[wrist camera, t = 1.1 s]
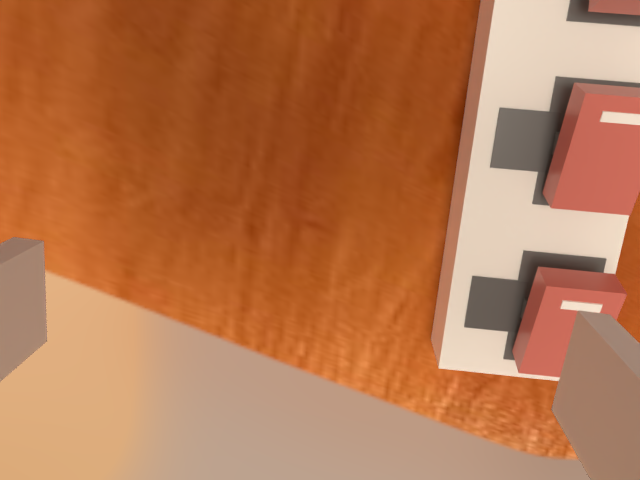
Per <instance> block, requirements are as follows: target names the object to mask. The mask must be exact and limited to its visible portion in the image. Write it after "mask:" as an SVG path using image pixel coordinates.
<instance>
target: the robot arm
mask: <svg viewBox="0 0 640 480" xmlns="http://www.w3.org/2000/svg"><path fill="white" fill-rule="evenodd" d="M45 294H46V293H45V261H44V241H40V240H32V239H24V238H17V237H13V238H11V239H9V240H7V241H5V242H3V243H1V244H0V381H1V380H3V379H4V378H5V377H6V376H7V375H8V374H9V373H11V372H12V371H13V370H14V369H15V368H17V366H19V365H20V364H21V363H22V362H23V361H25V360H26V359H27V358H28V357H29V356H30V355H32V354H33V353H34V352H35V351H36V350H37V349H38V348H40V347H41V346H42V345H43V344H44V343H45V342H46V341H47V329H46V328H47V326H46V295H45ZM551 410H552V412H553V413H554V415H555V417H556V419H557V421H558V422H559V424H560V426H561V428H562V429H563V431H564V433H565V435H566V437H567V438H568V440H569V442H570V444H571V446H572V447H573V449H574V451H575V453H576V455H577V456H578V458H579V460H580V462H581V463H582V465H583V467H584V469H585V471H586V472H587V474H588V476H589V478H590V480H640V344H639V343H638V342H637V341H636V340H635V339H634V338H633V337H632V336H631V335H630V334H629V333H628V332H627V331H626V330H625V329H624V328H623V327H622V326H621V325H620V324H619V323H618V322H617V321H616V320H615V319H614V318H613V317H612V316H611V315H610V314H603V313H595V312H587V311H579V310H578V311H577V315H576V319H575V322H574V326H573V330H572V334H571V338H570V341H569V345H568V349H567V353H566V356H565V360H564V364H563V368H562V371H561V375H560V379H559V383H558V387H557V390H556V394H555V398H554V402H553V405H552V409H551Z"/></svg>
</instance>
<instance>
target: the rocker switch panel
mask: <svg viewBox="0 0 640 480" xmlns="http://www.w3.org/2000/svg"><path fill="white" fill-rule="evenodd" d="M588 8H589V0H481V1H480V8H479V15H478V22H477V28H476V35H475V42H474V49H473V56H472V63H471V69H470V76H469V83H468V90H467V97H466V104H465V110H464V117H463V124H462V131H461V138H460V145H459V151H458V158H457V165H456V172H455V179H454V186H453V192H452V199H451V206H450V213H449V220H448V227H447V233H446V240H445V247H444V254H443V261H442V268H441V274H440V281H439V288H438V295H437V302H436V309H435V315H434V322H433V329H432V336H431V341H432V345H433V349H434V353H435V357H436V360H437V364H438V368H441V369H450V370H460V371H469V372H479V373H488V374H497V375H507V376H516V377H526V378H535V379H545V380H554V381H559V379H560V377H551V376H542V375H532V374H523V373H518V370H517V366H516V363H515V359H514V356H513V352H512V350H513V347H514V344H515V340H516V337H517V334H518V331H519V327H520V324H521V321H522V318H523V314H524V311H525V308H526V305H527V301H528V298H529V295H530V292H531V288H532V285H533V282H534V279H535V275H536V272H537V269H538V267H548V268H558V269H569V270H579V271H589V272H600V273H610V274H615V273H616V268H617V264H618V260H619V256H620V252H621V247H622V243H623V239H624V235H625V230H626V226H627V222H628V218H629V215H619V214H608V213H597V212H586V211H575V210H565V209H554V208H550V206H549V204H548V202H547V200H546V198H545V197H544V195H543V189H544V186H545V182H546V179H547V175H548V172H549V168H550V165H551V161H552V158H553V154H554V151H555V147H556V144H557V141H558V137H559V134H560V130H561V127H562V123H563V120H564V116H565V113H566V109H567V106H568V102H569V99H570V95H571V92H572V89H573V85H574V82H575V83H587V84H600V85H612V86H624V87H636V88H640V15H629V14H615V13H602V12H589V11H588Z"/></svg>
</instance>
